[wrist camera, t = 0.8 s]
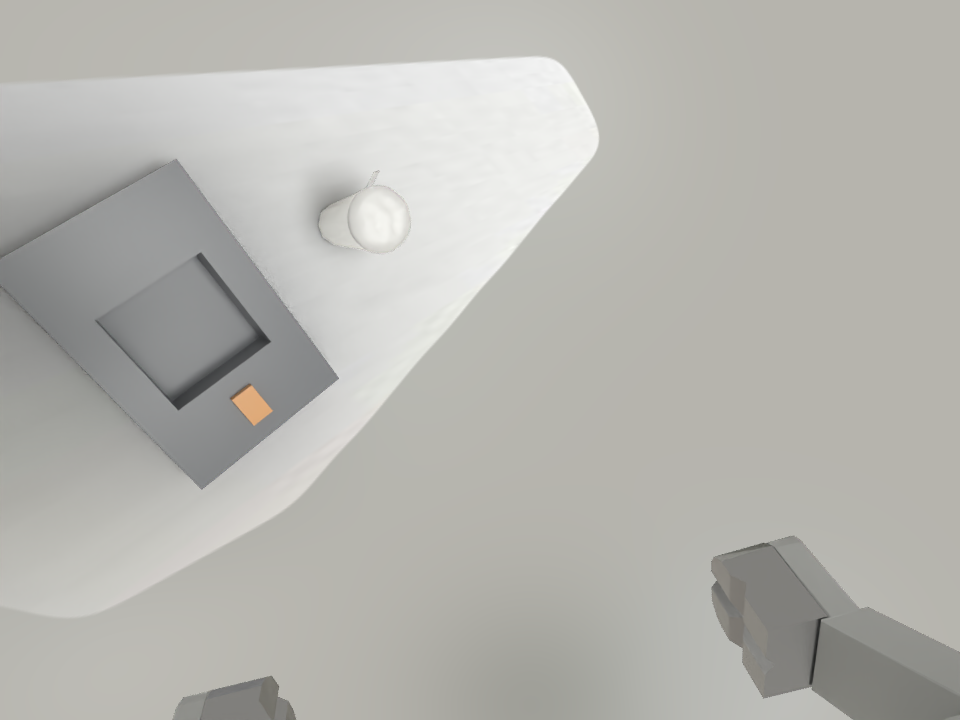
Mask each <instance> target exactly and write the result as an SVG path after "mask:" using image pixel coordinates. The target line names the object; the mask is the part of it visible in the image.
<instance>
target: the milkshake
mask: <svg viewBox="0 0 960 720" xmlns="http://www.w3.org/2000/svg"><path fill="white" fill-rule="evenodd" d="M378 173H379V171H376V172H374V173H373V174H372V176H371V178H370V181H369V183H368V185H367V187H366V188H364V189H363V190H361V191H359V192H357V193H355V194H353V195H351V196H349V197H346V198H344V199H342V200H339V201H337V202H335V203H332V204H330V205H329V206H328V207H327V208H325V209H324V210H323V211H322V212H321V213H320V218H319V222H318V227H319V229H320V232H321V235H322V237H323V238H324V239H325V240H327V241H328V242H330V243H331V244H332V245H335V246H341V247H348V248H354V249H359V250H364V251H368V252H372V253H377V254H385V253H389V252H392V251H394V250H395V249H397V248H398V247H400V246H401V245H402V243H403V242H404V241H405V239H406V238H407V236H408V234H409V231H410V228H411V217H410V213H409V209H408V206H407V203H406V202H405V200H404V199H403V198H402V197H401V196H400V195H399V194H398V193H396V192H395V191H394V190H392V189H391V188H389V187H386V186H381V185H376V186H372V185H373V183H374V181H375V179H376V177H377V175H378Z"/></svg>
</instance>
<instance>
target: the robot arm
mask: <svg viewBox="0 0 960 720" xmlns="http://www.w3.org/2000/svg"><path fill="white" fill-rule="evenodd" d="M711 562H712V563H711V569H712V570H711V571H712V573H713V574H714V576H715V578H716V579H717V581H716V582H715V584H714V585H713V586H712V601H713V605H714V608H715V612H716V615H717V617H718V620H719V622H720V624H721V626H722V628H723V630H724V632H725V633H726V635H727V637H728V639H729V640H730V641H732V642H733V643H735V644H737V645H738V646H740V647H742V648H743V659H742V660H743V661H742V662H743V665H744V666H745V668H746V670H747V671H748V673H749V675H750V676H751V678H752V680H753V681H754V683H755V685H756V687H757V688H758V690H759V692H760V693H761V695H762V697H763V698H767V697H771V696H775V695H780V694H783V693H788V692H792V691H796V690H800V689H804V688H808V687H812V690H813V691H814V692H816V693H817V694H819V695H820V696H821V697H823V698H824V699H825V700H827V701H828V702H830V703H831V704H832V705H834V706H835V707H836V708H838V709H839V710H841V711H842V712H843V713H845V714H846V715H848V716H849V717H850V718H852V719H853V720H960V652H958V651H956V650H954V649H952V648H950V647H948V646H946V645H944V644H942V643H940V642H938V641H936V640H934V639H932V638H930V637H928V636H926V635H924V634H922V633H919V632H918V631H916V630H914V629H912V628H910V627H907V626H906V625H904V624H902V623H899V622H898V621H895V620H893V619H891V618H889V617H887V616H885V615H883V614H881V613H879V612H877V611H875V610H873V609H871V608H869V607H866V608H862V609H859V607H858V606H857V605H856V604H855V603H854V602H853V600H852V599H851V598H850V597H849V596H848V595H847V594H846V592H845V591H844V590H843V589H842V588H841V586H840V585H839V584H838V583H837V582H836V581H835V579H834V578H833V577H832V576H831V575H830V574H829V572H828V571H827V570H826V569H825V568H824V567H823V565H822V564H821V563H820V562H819V561H818V560H817V558H816V557H815V556H814V555H813V554H812V553H811V551H810V550H809V549H808V548H807V547H806V545H804V543H803V542H802V541H801V540H800V539H799V538H797V537H795V536H789V537H786V538H782V539H779V540H775V541H772V542H768V543H761V544H758V545H754V546H750V547H747V548H744V549H740V550H736V551H733V552H729V553H726V554H722V555H719V556H715V557H714V558H713V560H712V561H711ZM278 690H279V686H278V684H277V683H276V681H275V680H274V679H273V677H272V676H269V677H264V678H260V679H256V680H252V681H248V682H244V683H239V684H236V685H231V686H227V687H223V688H219V689H215V690H210V691H206V692H202V693H199V694H195V695H191V696H187V697H183V699H182V700H181V702H180V703H179V705H178V706H177V708H176V710H175V713H174V716H173V720H296V718H295V714H294V711H293V708H292V707H291V705H290V703H289V702H288V701H287V700H285V699H282V698H280V697H278Z"/></svg>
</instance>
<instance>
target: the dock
mask: <svg viewBox="0 0 960 720" xmlns="http://www.w3.org/2000/svg"><path fill="white" fill-rule="evenodd" d="M0 285H1V286H2V287H3V288H4V289H5V290H6V291H7V292H8V293H9V294H10V295H11V296H12V297H13V298H14V299H15V300H16V301H17V303H18V304H19V305H20V306H21V307H22V308H23V309H24V310H25V311H26V312H27V313H28V314H29V315H30V316H31V317H32V318H33V319H34V320H35V321H36V322H37V323H38V324H39V325H40V326H41V327H42V328H43V329H44V330H45V331H46V332H47V333H48V334H49V335H50V336H51V337H52V338H53V339H54V340H55V341H56V342H57V343H58V344H59V345H60V346H61V347H62V348H63V349H64V350H65V351H66V352H67V353H68V354H69V355H70V356H71V357H72V358H73V359H74V360H75V361H76V362H77V363H78V364H79V366H80V367H81V368H82V369H83V370H84V371H85V372H86V373H87V374H88V375H89V376H90V377H91V378H92V379H93V380H94V381H95V382H96V383H97V384H98V385H99V386H100V387H101V388H102V389H103V390H104V391H105V392H106V393H107V394H108V395H109V396H110V397H111V398H112V399H113V400H114V401H115V402H116V403H117V404H118V405H119V406H120V407H121V408H122V409H123V410H124V411H125V412H126V413H127V414H128V415H129V416H130V417H131V418H132V419H133V420H134V421H135V422H136V423H137V424H138V425H139V426H140V427H141V429H142V430H143V431H144V432H145V433H146V434H147V435H148V436H149V437H150V438H151V439H152V440H153V441H154V442H155V443H156V444H157V445H158V446H159V447H160V448H161V449H162V450H163V451H164V452H165V453H166V454H167V455H168V456H169V457H170V458H171V459H172V460H173V461H174V462H175V463H176V464H177V465H178V466H179V467H180V468H181V469H182V470H183V471H184V472H185V473H186V474H187V475H188V476H189V477H190V478H191V479H192V480H193V481H194V482H195V483H196V484H197V485H198V486H199V487H200V488H201V489H203V488H204V487H206V486H207V485H208V484H209V483H211V482H212V481H213V480H214V479H216V478H217V477H218V476H219V475H220V474H222V473H223V472H224V471H225V470H227V469H228V468H229V467H230V466H232V465H233V464H234V463H235V462H237V461H238V460H239V459H240V458H241V457H243V456H244V455H245V454H246V453H248V452H249V451H250V450H251V449H253V448H254V447H255V446H256V445H258V444H259V443H260V442H261V441H262V440H264V439H265V438H266V437H267V436H269V435H270V434H271V433H272V432H274V431H275V430H276V429H277V428H279V427H280V426H281V425H282V424H283V423H285V422H286V421H287V420H288V419H290V418H291V417H292V416H293V415H295V414H296V413H297V412H298V411H300V410H301V409H302V408H303V407H304V406H306V405H307V404H308V403H309V402H311V401H312V400H313V399H314V398H316V397H317V396H318V395H319V394H320V393H322V392H323V391H324V390H325V389H327V388H328V387H329V386H330V385H332V384H333V383H334V382H335V381H337V380H338V379H339V378H338V376H337V375H336V373H335V372H334V371H333V369H332V368H331V367H330V365H329V364H328V363H327V361H326V360H325V359H324V357H323V356H322V355H321V353H320V352H319V351H318V349H317V348H316V347H315V345H314V344H313V342H312V341H311V340H310V338H309V337H308V336H307V334H306V333H305V332H304V330H303V329H302V328H301V326H300V325H299V324H298V322H297V321H296V320H295V318H294V317H293V315H292V314H291V313H290V311H289V310H288V309H287V307H286V306H285V305H284V303H283V302H282V301H281V299H280V298H279V297H278V295H277V294H276V293H275V291H274V290H273V288H272V287H271V286H270V284H269V283H268V282H267V280H266V279H265V278H264V276H263V275H262V274H261V272H260V271H259V270H258V268H257V267H256V266H255V264H254V263H253V262H252V260H251V259H250V257H249V256H248V255H247V253H246V252H245V251H244V249H243V248H242V247H241V245H240V244H239V243H238V241H237V240H236V239H235V237H234V236H233V235H232V233H231V232H230V230H229V229H228V228H227V226H226V225H225V224H224V222H223V221H222V220H221V218H220V217H219V216H218V214H217V213H216V212H215V210H214V209H213V208H212V206H211V205H210V203H209V202H208V201H207V199H206V198H205V197H204V195H203V194H202V193H201V191H200V190H199V189H198V187H197V186H196V185H195V183H194V182H193V181H192V179H191V178H190V177H189V175H188V174H187V172H186V171H185V170H184V168H183V167H182V166H181V164H180V163H179V162H178V160H177V159H175V160H173V161H172V162H170V163H168V164H166V165H164V166H163V167H161V168H159V169H157V170H156V171H154V172H152V173H150V174H149V175H147V176H145V177H143V178H142V179H140V180H138V181H136V182H134V183H133V184H131V185H129V186H127V187H126V188H124V189H122V190H120V191H119V192H117V193H115V194H113V195H111V196H110V197H108V198H106V199H104V200H103V201H101V202H99V203H97V204H96V205H94V206H92V207H90V208H89V209H87V210H85V211H83V212H81V213H80V214H78V215H76V216H74V217H73V218H71V219H69V220H67V221H66V222H64V223H62V224H60V225H59V226H57V227H55V228H53V229H51V230H50V231H48V232H46V233H44V234H43V235H41V236H39V237H37V238H36V239H34V240H32V241H30V242H29V243H27V244H25V245H23V246H21V247H20V248H18V249H16V250H14V251H13V252H11V253H9V254H7V255H6V256H4V257H2V258H0Z"/></svg>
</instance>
